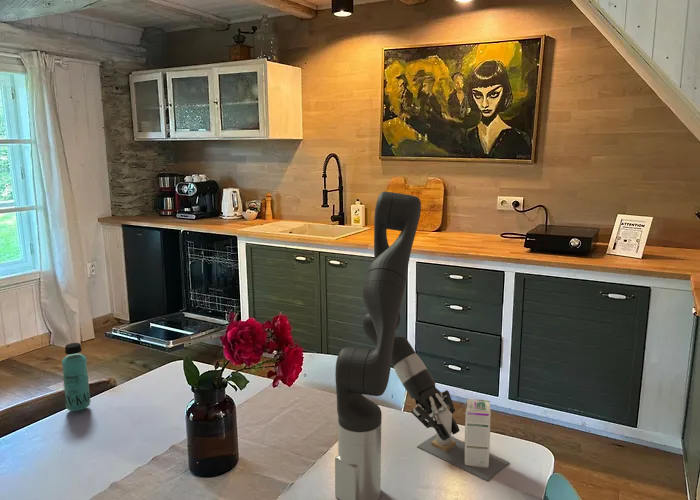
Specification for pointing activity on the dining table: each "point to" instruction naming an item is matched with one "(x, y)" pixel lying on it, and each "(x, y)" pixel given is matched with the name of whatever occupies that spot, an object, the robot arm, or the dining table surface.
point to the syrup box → (477, 433)
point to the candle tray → (459, 451)
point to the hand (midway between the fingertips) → (451, 435)
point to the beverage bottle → (75, 378)
